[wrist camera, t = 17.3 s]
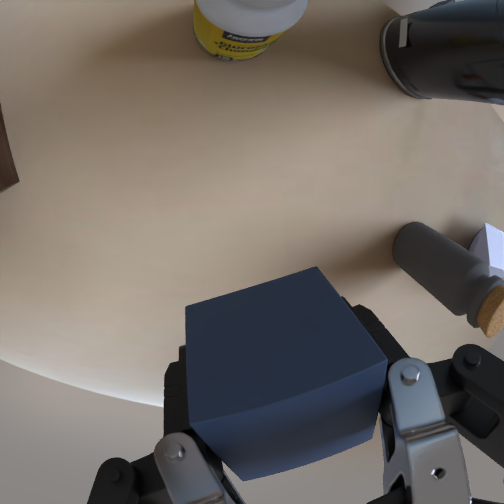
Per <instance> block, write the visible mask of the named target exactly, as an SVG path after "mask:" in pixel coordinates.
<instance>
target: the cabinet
mask: <svg viewBox="0 0 504 504" xmlns="http://www.w3.org/2000/svg"><path fill="white" fill-rule="evenodd" d="M18 182H19V178H18V175H17V172H16V168H15V165H14V162H13V158H12V154H11V151H10V147H9V143H8V139H7V134H6V130H5V125H4V120H3V115H2V110H1V104H0V193H1V192H3V191H5V190H6V189H8V188H10V187H11V186H13V185H15V184H16V183H18Z"/></svg>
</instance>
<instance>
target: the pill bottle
mask: <svg viewBox="0 0 504 504" xmlns="http://www.w3.org/2000/svg"><path fill="white" fill-rule="evenodd" d="M307 4H308V0H194V22H193V27H194V35H195V38H196V40H197V42H198V44H199V45H200V46H201V48H202V49H203V50H204V51H206V52H207V53H208V54H210V55H212V56H213V57H216V58H218V59H222V60H226V61H244V60H248V59H251V58H254V57H256V56H258V55H259V54H261V53H262V52H263V51H265V50H266V49H267V48H268V47H269V46H270V45H271V44H273V43H274V42H275V41H276V40H277V39H278V38H279V37H280V36H282V35H283V34H284V33H285V32H286V31H287V30H288V29H290V28H291V27H292V26H293V25H294V24H295V23H297V22H298V21H299V20H300V18H301V17H302V16H303V14H304V12H305V10H306V8H307Z"/></svg>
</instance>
